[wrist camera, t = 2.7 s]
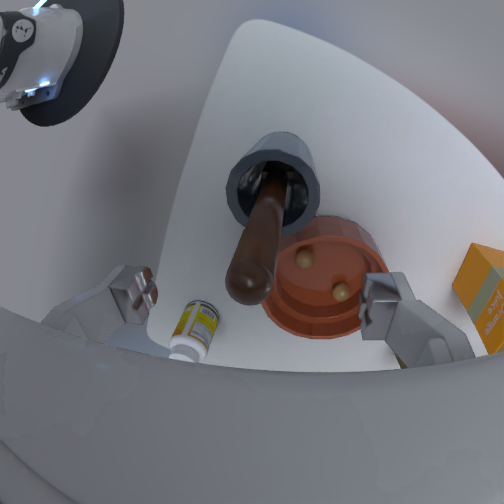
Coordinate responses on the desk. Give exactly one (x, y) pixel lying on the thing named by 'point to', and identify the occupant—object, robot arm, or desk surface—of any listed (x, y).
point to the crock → (298, 189)
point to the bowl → (322, 278)
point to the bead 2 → (341, 292)
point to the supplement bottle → (194, 332)
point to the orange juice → (484, 293)
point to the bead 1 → (304, 259)
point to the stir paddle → (260, 239)
